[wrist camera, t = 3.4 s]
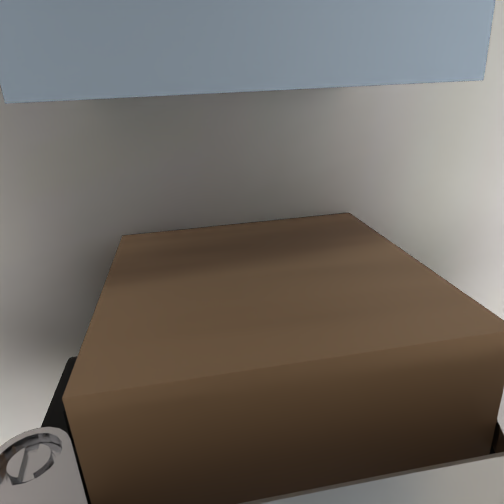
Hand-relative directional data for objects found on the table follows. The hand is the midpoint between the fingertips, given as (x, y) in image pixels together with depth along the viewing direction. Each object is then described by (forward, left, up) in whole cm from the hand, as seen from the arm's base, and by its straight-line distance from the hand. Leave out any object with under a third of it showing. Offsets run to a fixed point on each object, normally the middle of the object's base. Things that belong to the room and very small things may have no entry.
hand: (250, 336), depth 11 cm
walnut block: (0, 0, -1) cm, 1 cm away
